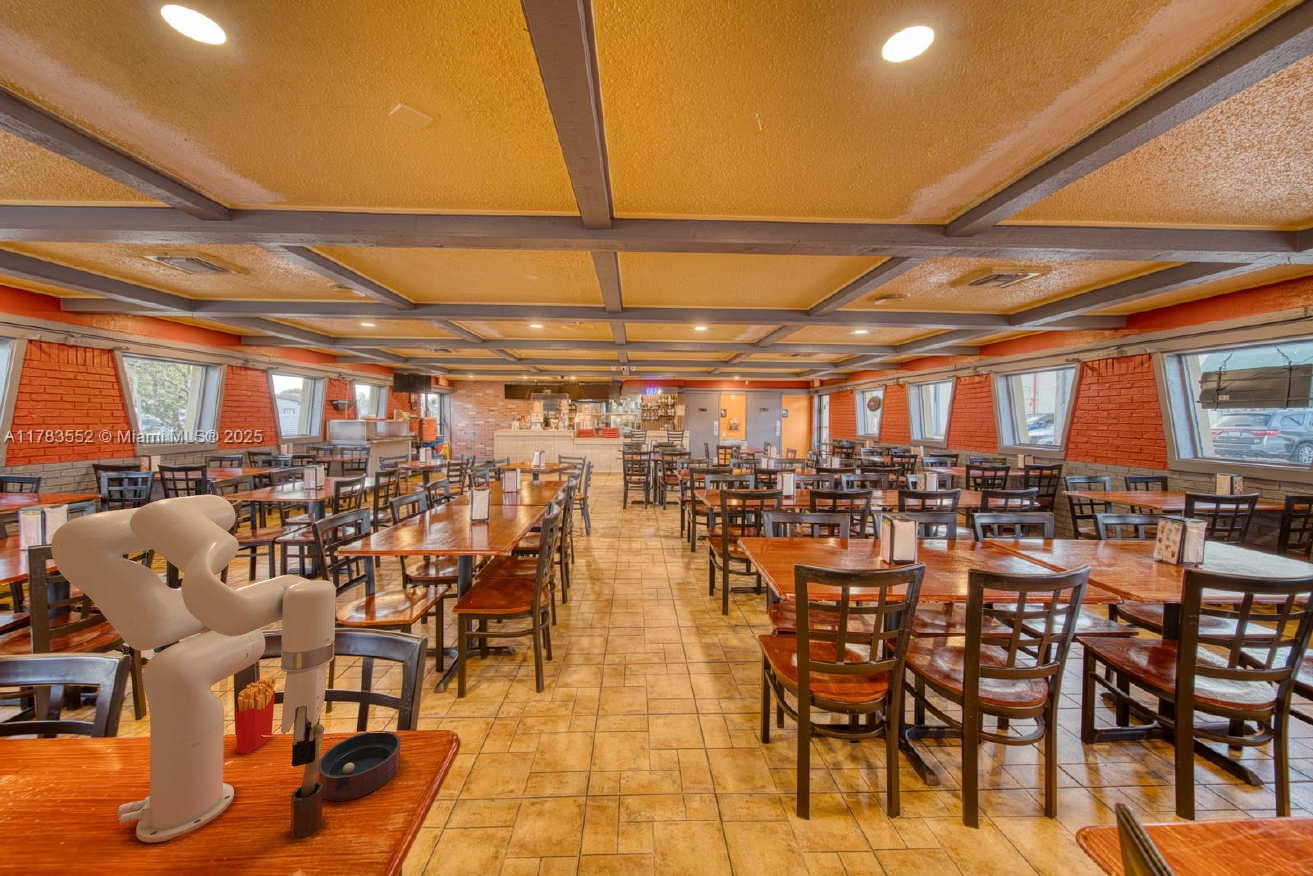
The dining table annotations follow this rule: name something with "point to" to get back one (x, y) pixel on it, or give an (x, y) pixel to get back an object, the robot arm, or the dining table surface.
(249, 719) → the french fries
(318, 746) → the stick
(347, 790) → the bowl
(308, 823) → the holder
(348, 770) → the dough ball
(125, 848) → the dining table surface
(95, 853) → the dining table surface
